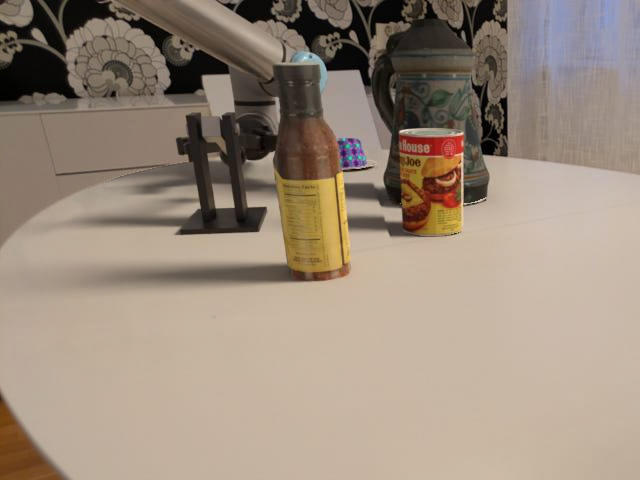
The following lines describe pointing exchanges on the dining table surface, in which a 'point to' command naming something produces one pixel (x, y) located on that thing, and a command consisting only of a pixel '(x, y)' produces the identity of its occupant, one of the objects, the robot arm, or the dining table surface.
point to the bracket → (209, 215)
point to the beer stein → (429, 97)
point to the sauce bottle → (309, 178)
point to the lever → (218, 136)
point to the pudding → (351, 153)
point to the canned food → (431, 181)
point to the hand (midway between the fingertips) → (238, 152)
